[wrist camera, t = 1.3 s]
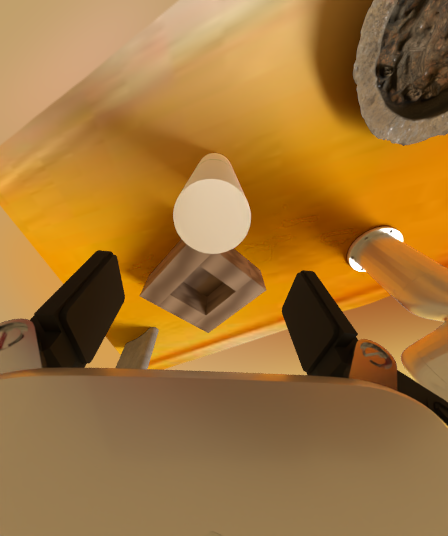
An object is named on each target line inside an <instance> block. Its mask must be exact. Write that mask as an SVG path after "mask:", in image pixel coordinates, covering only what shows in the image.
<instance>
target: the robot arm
mask: <svg viewBox="0 0 448 536" xmlns="http://www.w3.org/2000/svg"><path fill="white" fill-rule="evenodd" d="M347 260H348V263H349V265H350V266H351V267H352V268H353V269H355V270H357V271H361V272H367V273H368V274H369V275H370V276H371V277H372V278H373V279H375V280H376V281H377V282H378V283H379V284H380V285H381V286H382V287H383V288H384V289H385V290H386V291H387V292H389V293H390V294H391V295H392V296H393V297H394V298H395V299H396V300H397V301H398V302H399V303H400V304H401V305H402V306H404V307H405V308H406V309H407V310H408V311H410V312H411V313H413V314H415V315H417V316H420V317H423V318H427V319H431V320H437V321H443V322H444V323H443V324H442V325H441V326H439V327H438V328H437V329H436V330H434V331H433V332H431V333H429V334H428V335H426V336H425V337H423V338H421V339H420V340H418V341H416V342H415V343H413V344H412V345H410V346H409V347H407V348H406V349H405V350H404V351H403V353H402V355H401V361H402V364H403V366H404V368H405V369H406V371H407V372H408V373H409V375H410V376H411V377H412V379H413V380H412V379H411V378H409V377H407V376H406V375H404V374H403V373H401V372H399V371H398V370H397V365H396V361H395V360H394V358H393V356H392V355H391V354H390V353H389V352H388V351H387V350H386V349H385V348H383V347H382V346H381V345H379V344H377V343H376V342H373V341H371V340H367V339H361V340H359V341H358V339H357V338H356V336H357V335H358V333H357V332H356V331H355V329H354V328H353V326H352V325H351V324H350V322H349V321H348V319H347V318H346V316H345V315H344V314H343V312H342V311H341V309H340V308H339V307H338V305H337V304H336V302H335V301H334V299H333V298H332V297H331V295H330V294H329V292H328V291H327V289H326V288H325V287H324V285H323V284H322V282H321V281H320V280H319V278H318V277H317V275H316V274H315V273H314V272H313V271H304V270H303V271H301V272H300V273H298V274H297V275H296V278H295V280H294V282H293V284H292V287H291V289H290V291H289V293H288V296H287V298H286V300H285V303H284V305H283V307H282V314H283V317H284V320H285V322H286V325H287V328H288V330H289V333H290V336H291V339H292V341H293V344H294V347H295V349H296V352H297V355H298V357H299V360H300V363H301V366H302V368H303V370H304V371H305V372H307V375H284V374H262V373H261V374H260V373H236V372H210V371H182V370H151V369H119V368H84V367H85V365H86V364H87V363H90V362H91V361H92V359H93V358H94V356H95V354H96V352H97V350H98V348H99V347H100V345H101V343H102V341H103V339H104V337H105V336H106V334H107V332H108V330H109V328H110V326H111V324H112V323H113V321H114V319H115V317H116V315H117V313H118V312H119V310H120V308H121V306H122V304H123V302H124V299H125V295H124V290H123V285H122V280H121V275H120V270H119V265H118V260H117V256H116V255H113V253H112V252H110V251H100V250H99V251H96V252H95V253H94V254H93V255H92V256H91V257H90V258H89V259H88V260H87V261H86V262H85V263H84V264H83V265H82V266H81V267H80V268H79V269H78V270H77V271H76V272H75V273H74V274H73V275H72V276H71V277H70V278H69V279H68V280H67V281H66V282H65V283H64V284H63V286H61V287H60V288H59V290H57V291H56V292H55V293H54V294H53V295H52V296H51V297H50V298H49V299H48V300H47V301H46V302H45V303H44V304H43V305H42V306H41V307H40V308H39V309H38V310H37V312H35V315H34V316H33V317H32V318H31V320H28V319H12V320H8V321H4V322H2V323H0V536H448V268H446V267H444V266H443V265H441V264H439V263H437V262H436V261H434V260H432V259H431V258H429V257H427V256H426V255H424V254H422V253H420V252H419V251H417V250H415V249H414V248H412V247H410V246H409V245H407V244H405V243H403V236H402V234H401V233H400V232H399V231H398V230H396V229H394V228H392V227H388V226H383V227H377V228H374V229H371V230H369V231H367V232H365V233H364V234H362V235H361V236H360V237H358V238H357V239H356V240H355V241H354V242H353V244H352V245H351V247H350V249H349V251H348V254H347Z"/></svg>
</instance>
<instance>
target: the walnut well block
mask: <svg viewBox="0 0 448 536" xmlns="http://www.w3.org/2000/svg"><path fill="white" fill-rule="evenodd" d="M264 291H266V288H265V285H264V281H263V278H262V275H261V272H260V270H259V269H258V268H257V267H255V266H254V265H253V264H252V263H251V262H249V261H248V260H247V259H246V258H245V257H243V256H242V255H241V254H240V253H239V252H237V251H236V250H235V249H234V248H233V249H231V250H229V251H227V252H223V253H219V254H208V253H203V252H199V251H197V250H195V249H193V248H191V247H190V246H188V245H187V244H186V243H185V242H184V241H183V240H182V239H181V240H180V241H179V242H178V244H177V245H176V246H175V247H174V248H173V249H172V250H171V251H170V253H169V254H168V255H167V256H166V257H165V258H164V259H163V261H162V262H161V263H160V264H159V265H158V266H157V267H156V268H155V270H154V271H153V272H152V273H151V274H150V275H149V277H148V279H147V281H146V284H145V286H144V288H143V290H142V292H141V294H140V296H141V297H142V298H144V299H146V300H148V301H150V302H152V303H154V304H155V305H157V306H159V307H161V308H163V309H165V310H167V311H168V312H170V313H172V314H174V315H176V316H178V317H180V318H181V319H183V320H185V321H187V322H189V323H191V324H193V325H194V326H196V327H198V328H200V329H202V330H204V331H206V332H207V333H209V332H210V331H211V330H213V329H214V328H216V327H217V326H218V325H220V324H221V323H222V322H224V321H225V320H226V319H228V318H229V317H230V316H232V315H233V314H234V313H236V312H237V311H239V310H240V309H241V308H243V307H244V306H245V305H247V304H248V303H249V302H251V301H252V300H253V299H255V298H256V297H257V296H259V295H260V294H262V293H263V292H264Z"/></svg>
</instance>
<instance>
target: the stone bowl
mask: <svg viewBox="0 0 448 536" xmlns="http://www.w3.org/2000/svg"><path fill="white" fill-rule="evenodd" d="M353 79H354V80H355V83H356V84H357V89H356V90H357V93H358V101H359V105H360V107H361V115H362V117H363V118H364V119H365V123H366V124H367V126H368V128H369V129H370V131H371V132H372V134H373V135H375V136H376V137H377V138H378V139H383V140H385V139H387V140H390V141H391V143H398V144H402V145H403V146H404V145H410V144H414V143H418V142H421V141H424V140H426V139H428V138H430V137H433V136H437V135H446V134H447V133H448V0H373V2H372V5H371V7H370V8H369V10H368V12H367V14H366V17H365V20H364V23H363V26H362V29H361V38H360V41H359V45H358V48H357V55H356V61H355V63H354V69H353Z"/></svg>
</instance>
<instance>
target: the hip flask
mask: <svg viewBox="0 0 448 536" xmlns="http://www.w3.org/2000/svg"><path fill="white" fill-rule="evenodd" d="M157 334H158V329H157V328H155V327H151V328H149V329H148V330H147V331H146V332H145V333H144V334H143V335H141V336H140V337H138V338H137V339H135V340H133V341H131V342H128V343H126V345H125V347H124V349H123V352H122V354H121V356H120V359H119V361H118V363H117V366H116V368H119V369H147V368H148V365H149V361H150V358H151V354H152V351H153V348H154V344H155V341H156V337H157Z"/></svg>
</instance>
